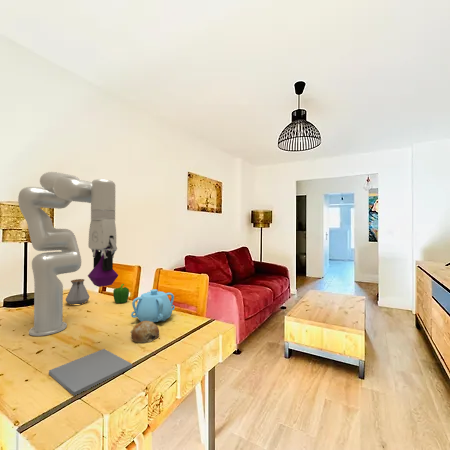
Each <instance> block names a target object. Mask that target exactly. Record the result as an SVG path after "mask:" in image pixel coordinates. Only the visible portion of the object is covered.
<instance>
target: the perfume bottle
mask: <svg viewBox="0 0 450 450" xmlns="http://www.w3.org/2000/svg"><path fill="white" fill-rule="evenodd" d="M106 249H110V248H109V247H107V248H106ZM107 253H108V251H107ZM103 259H105V258H104V254H102V257H101V259H100V261H99V263H98V264H97V265H96V266H95V268H92V270H91V271H90V272H89V274H88V275H87V277H88V278H89V280H90V281H91V282H92V284H93V285H94V286H96V287H98V288H101V287H107V286H111V285H113V284H114V282H115V281H116V280H117V278H118V277H119V274H118V273H117V271H115V270H114V268H113V269H112V270H107V271H103Z"/></svg>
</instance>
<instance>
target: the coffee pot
mask: <svg viewBox="0 0 450 450" xmlns="http://www.w3.org/2000/svg"><path fill="white" fill-rule="evenodd" d="M84 281H85V279H84V278H76V279H72V280H70V283H71V288H70V290H69V292H68V294H67V296H66V298H65V302H66V304H69V305H70V304H81V305H83V304H82V303H84V304H86V303H87V302H88V301H89V299H90V295H89V292H88V290H87V289H86V287H85V286H86V285H84ZM85 302H86V303H85Z"/></svg>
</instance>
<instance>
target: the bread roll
mask: <svg viewBox="0 0 450 450" xmlns="http://www.w3.org/2000/svg"><path fill="white" fill-rule="evenodd" d="M159 335H160V329H159V327H158V325H157V324H156V323H155V322H150V321H142V322H141V321H139V322H138V323H136V324H135V325H134V326H133V328H132V329H131V331H130V339H131V340H132V341H133V342H134V343H140V344H144V343H145V344H146V343H151V342H152V341H154V340H156V339H157V338H158V337H159Z"/></svg>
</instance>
